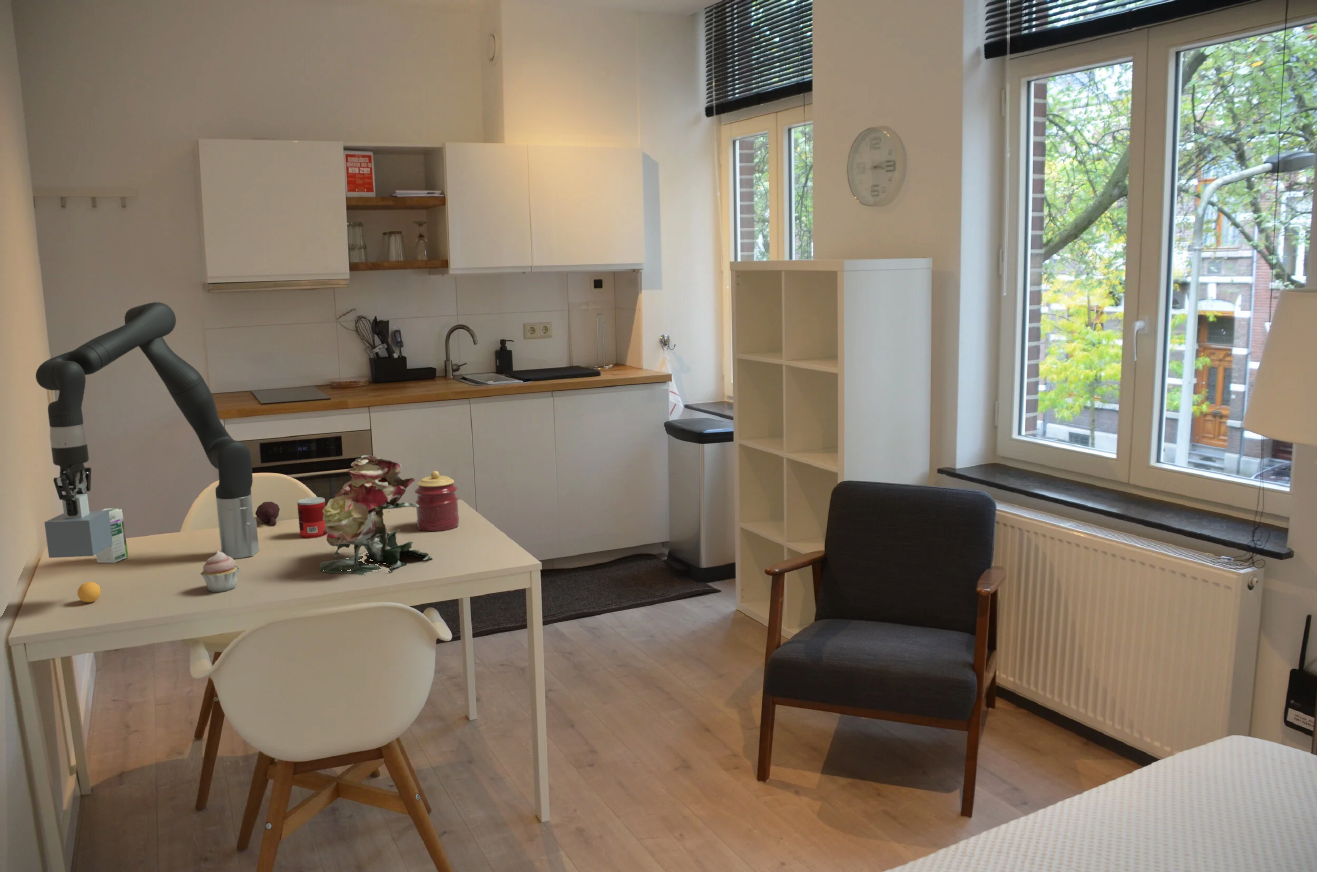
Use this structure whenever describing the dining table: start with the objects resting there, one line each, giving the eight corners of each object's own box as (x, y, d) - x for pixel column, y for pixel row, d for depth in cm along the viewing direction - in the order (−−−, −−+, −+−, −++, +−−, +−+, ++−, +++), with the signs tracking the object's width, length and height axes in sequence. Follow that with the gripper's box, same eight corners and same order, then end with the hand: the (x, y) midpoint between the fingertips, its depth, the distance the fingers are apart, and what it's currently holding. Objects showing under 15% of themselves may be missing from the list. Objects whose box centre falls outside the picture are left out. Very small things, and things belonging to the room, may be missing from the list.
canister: (426, 521, 321) (422, 466, 318) (465, 521, 320) (462, 466, 317) (410, 531, 309) (406, 475, 306) (451, 532, 307) (448, 475, 304)
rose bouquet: (361, 546, 293) (353, 445, 288) (442, 556, 281) (435, 450, 276) (294, 570, 271) (285, 461, 266) (379, 583, 258) (371, 468, 253)
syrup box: (114, 563, 282) (108, 513, 279) (96, 562, 283) (89, 512, 281) (128, 557, 287) (123, 508, 285) (110, 557, 289) (104, 507, 286)
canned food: (332, 533, 309) (330, 498, 307) (311, 539, 302) (308, 503, 300) (316, 530, 313) (313, 496, 311) (294, 536, 306) (291, 501, 304)
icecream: (249, 500, 329) (256, 513, 316) (271, 492, 332) (279, 504, 319) (256, 519, 331) (263, 532, 318) (278, 510, 334) (287, 523, 322)
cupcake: (214, 582, 262) (210, 545, 260) (248, 583, 261) (244, 545, 259) (194, 594, 253) (190, 555, 251) (229, 594, 252) (225, 555, 250)
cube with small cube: (112, 544, 252) (106, 490, 250) (93, 555, 242) (86, 499, 240) (70, 546, 251) (63, 492, 249) (49, 557, 241) (41, 501, 239)
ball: (97, 604, 247) (106, 596, 251) (93, 585, 245) (102, 577, 250) (76, 606, 246) (85, 598, 251) (72, 587, 245) (80, 579, 250)
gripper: (70, 448, 235) (79, 519, 238) (99, 438, 249) (107, 505, 252) (37, 449, 235) (46, 521, 238) (67, 439, 249) (76, 507, 252)
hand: (77, 512), depth 245 cm, fingers closed on cube with small cube, 4 cm apart
